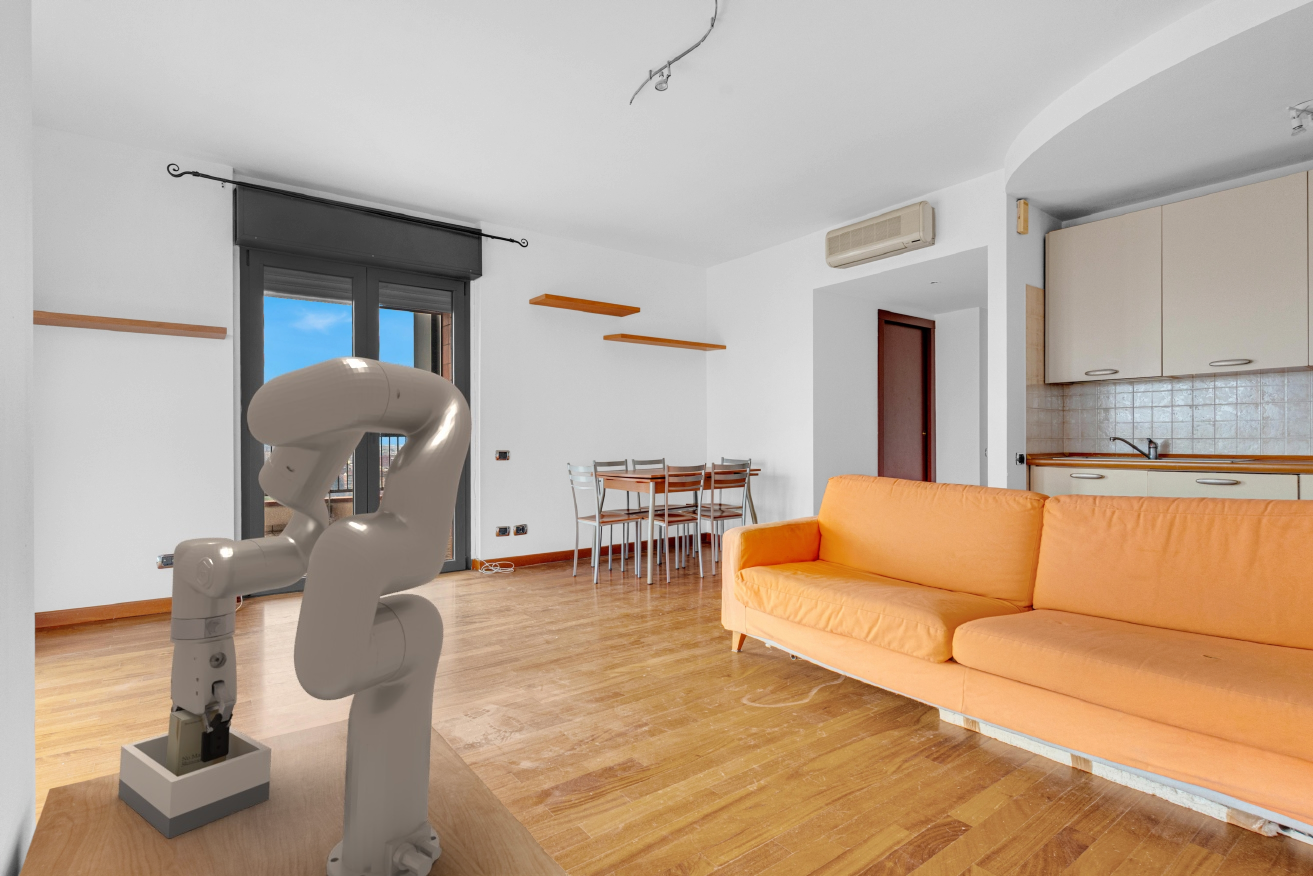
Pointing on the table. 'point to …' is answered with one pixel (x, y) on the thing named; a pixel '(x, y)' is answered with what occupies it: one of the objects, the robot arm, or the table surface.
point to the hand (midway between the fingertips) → (198, 749)
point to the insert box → (193, 783)
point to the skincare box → (186, 743)
